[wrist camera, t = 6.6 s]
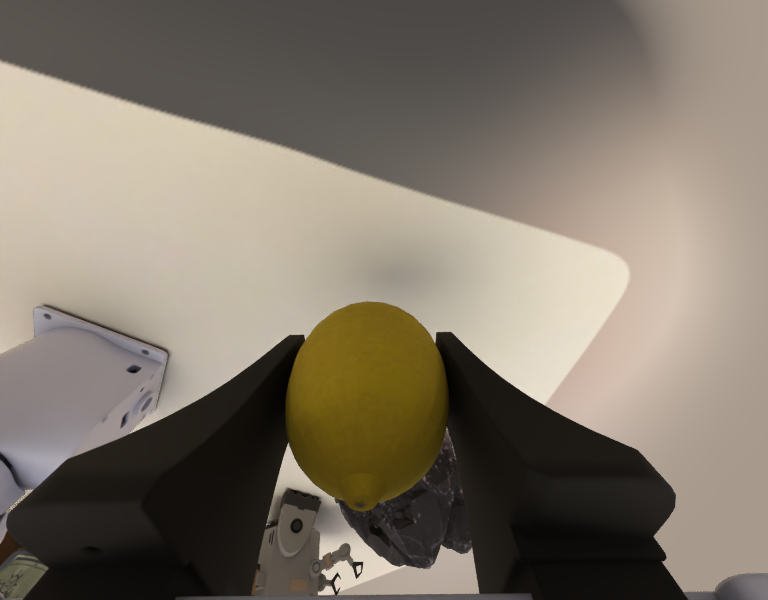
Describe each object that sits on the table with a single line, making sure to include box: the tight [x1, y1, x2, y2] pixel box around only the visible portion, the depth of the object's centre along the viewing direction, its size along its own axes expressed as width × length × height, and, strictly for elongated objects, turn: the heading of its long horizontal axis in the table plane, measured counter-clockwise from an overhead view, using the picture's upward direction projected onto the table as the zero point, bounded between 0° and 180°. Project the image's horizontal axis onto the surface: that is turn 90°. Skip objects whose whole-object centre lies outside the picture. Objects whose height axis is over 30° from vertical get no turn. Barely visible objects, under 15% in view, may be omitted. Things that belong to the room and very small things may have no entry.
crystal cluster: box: [335, 431, 472, 569], centre depth 24 cm, size 13×14×10 cm
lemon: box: [285, 302, 449, 511], centre depth 10 cm, size 6×6×8 cm
